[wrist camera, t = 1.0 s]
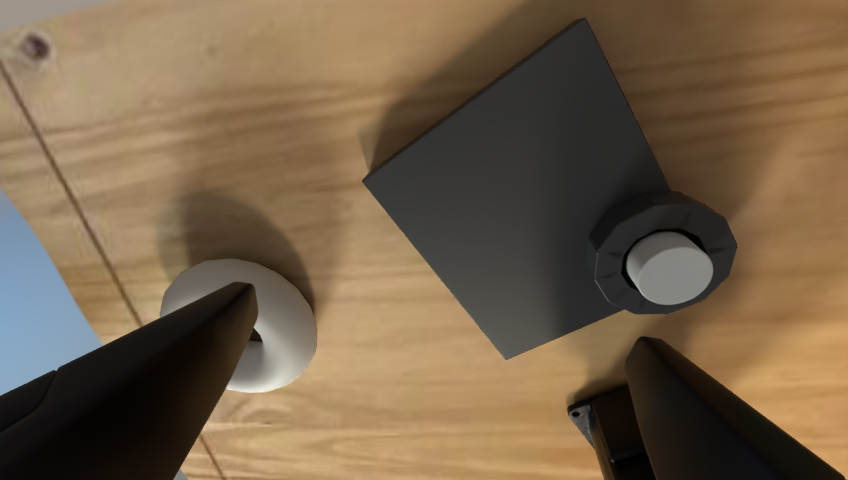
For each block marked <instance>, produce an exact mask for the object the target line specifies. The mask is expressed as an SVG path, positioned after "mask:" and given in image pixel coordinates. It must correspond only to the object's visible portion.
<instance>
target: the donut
mask: <svg viewBox="0 0 848 480" xmlns="http://www.w3.org/2000/svg"><path fill="white" fill-rule="evenodd" d="M237 281H238V282H246V283H251V284H253V285H254V287H255V290H256V297H257V303H258V318H257V321H256V323H255V326H254V328H255V330H256V331H257V332H258V333H259V334H260V336H261V338H262V341H259V342H256V341H251V340H248V342H247V344H246V346H245V349H244V351H243V353H242V355H241V358H240V360H239V362H238V365H237V367H236V369H235V371H234V373H233V375H232V378H231V380H230V381H229V383H228V385H227V387H226V389H230V390H235V391H239V392H244V393H245V392H268V391H271V390H275V389H278V388H281V387H284V386H286V385H288V384H290V383H291V382H292V381H294V380H295V379H296V378H297V377H299V376H300V375H301V374H303V373H304V371H305V370H306V369H307V368H308V366H309V364H310V362H311V360H312V358H313V356H314V354H315V351H316V348H317V324H316V321H315V319H314V316H313V313H312V310H311V307H310V305H309V304H308V303H307V301H306V300H305V298H304V297H303V296H302V294H301V293H300V292H299V290H298V289H297V288H296V287H295V286H293V285H292V284H291V283H290V282H289V281H287V280H286V279H285V278H284V277H282V276H281V275H280V274H279V273H277V272H275V271H272V270H270V269H268V268H266V267H264V266H262V265H260V264H258V263H255V262H250V261H245V260H240V259H235V258H229V259H217V260H206V261H204V262H201V263H199V264H197V265H195V266H193V267H191V268H189V269H187V270H185V271H183V272H181V273H180V274H179V275H178V276H177V278H176V279H175V280H174V281H173V282H172V284H171V285H170V286H169V287H168V289H167V290H166V291H165V293H164V297H163V301H162V306H161V311H160V318H161V317H163V316H165V315H167V314H169V313H171V312H173V311H175V310H177V309H179V308H181V307H183V306H185V305H187V304H190V303H192V302H194V301H196V300H198V299H200V298H202V297H204V296H206V295H208V294H210V293H212V292H214V291H216V290H218V289H220V288H222V287H224V286H226V285H228V284H230V283H233V282H237Z"/></svg>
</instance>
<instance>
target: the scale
mask: <svg viewBox="0 0 848 480" xmlns="http://www.w3.org/2000/svg"><path fill="white" fill-rule="evenodd" d="M362 182H363V183H364V185H365V186H366V187H367V188H368V190H369V191H370V192H371V193H372V195H373V196H374V197H375V198H376V199H377V201H378V202H379V203H380V204H381V206H382V207H383V208H384V209H385V211H386V212H387V213H388V214H389V216H390V217H391V218H392V219H393V221H394V222H395V223H396V224H397V226H398V227H399V228H400V229H401V231H402V232H403V233H404V234H405V236H406V237H407V238H408V239H409V241H410V242H411V243H412V244H413V246H414V247H415V248H416V249H417V250H418V252H419V253H420V254H421V255H422V257H423V258H424V259H425V260H426V262H427V263H428V264H429V265H430V267H431V268H432V269H433V270H434V272H435V273H436V274H437V275H438V277H439V278H440V279H441V280H442V282H443V283H444V284H445V285H446V287H447V288H448V289H449V290H450V292H451V293H452V294H453V295H454V297H455V298H456V299H457V300H458V301H459V303H460V304H461V305H462V306H463V308H464V309H465V310H466V311H467V313H468V314H469V315H470V316H471V318H472V319H473V320H474V321H475V323H476V324H477V325H478V326H479V328H480V329H481V330H482V331H483V333H484V334H485V335H486V336H487V338H488V339H489V340H490V341H491V343H492V344H493V345H494V346H495V348H496V349H497V350H498V351H499V352H500V354H501V355H502V356H503V357H504V359H505V360H507V359H510V358H512V357H514V356H517V355H519V354H521V353H524V352H526V351H528V350H531V349H533V348H535V347H538V346H540V345H542V344H545V343H547V342H549V341H552V340H554V339H557V338H559V337H561V336H564V335H566V334H568V333H571V332H573V331H575V330H578V329H580V328H582V327H585V326H587V325H589V324H592V323H594V322H596V321H599V320H601V319H603V318H606V317H608V316H610V315H613V314H615V313H617V312H620V311H622V310H624V309H625V310H627V311H629V312H631V313H634V314H669V313H673V312H675V311H678V310H680V309H683V308H685V307H688V306H690V305H693V304H695V303H697V302H700V301H702V300H704V299H705V298H706V297H708V296H709V295H710V294H711V293H712V292H713V291H714V290H715V289H716V288H717V287H718V286H719V285H720V284H721V283H722V282H723V281H724V280H725V279H726V278H727V277H728V275H729V273H730V270H731V266H732V263H733V259H734V256H735V252H736V249H737V243H736V241H735V239H734V237H733V234H732V232H731V230H730V228H729V226H728V223H727V221H726V219H725V218H724V217H723V216H721V215H720V214H718V213H717V212H715V211H714V210H712V209H711V208H709V207H708V206H706V205H705V204H703V203H701V202H698V201H696V200H694V199H692V198H690V197H688V196H686V195H684V194H682V193H680V192H677V191H671V189H670V187H669V185H668V183H667V181H666V179H665V176H664V174H663V172H662V170H661V168H660V166H659V164H658V162H657V160H656V158H655V156H654V154H653V152H652V150H651V148H650V146H649V144H648V142H647V140H646V138H645V136H644V134H643V132H642V130H641V128H640V126H639V124H638V122H637V120H636V118H635V116H634V114H633V112H632V110H631V108H630V106H629V104H628V102H627V100H626V98H625V96H624V94H623V92H622V90H621V88H620V86H619V84H618V82H617V80H616V78H615V76H614V74H613V72H612V70H611V68H610V66H609V64H608V61H607V59H606V57H605V55H604V53H603V51H602V49H601V47H600V45H599V43H598V41H597V39H596V37H595V35H594V33H593V31H592V29H591V27H590V25H589V23H588V21H587V19H586V18H585V17H584V18H581V19H578V20H575V21H574V22H572V23H571V24H570V25H568V26H567V27H566V28H564V29H563V30H562V31H560V32H559V33H558V34H556V35H555V36H554V37H552V38H551V39H549V40H548V41H547V42H545V43H544V44H543V45H541V46H540V47H539V48H537V49H536V50H535V51H533V52H532V53H531V54H529V55H528V56H526V57H525V58H524V59H522V60H521V61H520V62H518V63H517V64H516V65H514V66H513V67H512V68H510V69H509V70H507V71H506V72H505V73H503V74H502V75H501V76H499V77H498V78H497V79H495V80H494V81H493V82H491V83H490V84H489V85H487V86H486V87H484V88H483V89H482V90H480V91H479V92H478V93H476V94H475V95H474V96H472V97H471V98H470V99H468V100H467V101H465V102H464V103H463V104H461V105H460V106H459V107H457V108H456V109H455V110H453V111H452V112H451V113H449V114H448V115H447V116H445V117H444V118H442V119H441V120H440V121H438V122H437V123H436V124H434V125H433V126H432V127H430V128H429V129H428V130H426V131H425V132H424V133H422V134H421V135H419V136H418V137H417V138H415V139H414V140H413V141H411V142H410V143H409V144H407V145H406V146H405V147H403V148H402V149H400V150H399V151H398V152H396V153H395V154H394V155H392V156H391V157H390V158H388V159H387V160H386V161H384V162H383V163H382V164H380V165H379V166H377V167H376V168H375V169H373V170H372V171H371V172H369V173H368V174H367V176H366V177H365V178H364V179H363V180H362ZM658 232H676V233H679V234H682V235H684V236H686V237H687V238H688V239H690V240H691V241H692V242H693V243H694V244H695V245H696V246H698V247H699V248H700V249H701V250H702V251H703V252H704V253H706V254H707V255H708V257H709V258H710V260H711V262H712V265H713V275H712V278H711V281H710V283H709V284H708V286H707V287H706V288H705V289H704V290H703V291H702V292H701V293H700V294H699V295H697V296H696V297H694V298H692V299H690V300H688V301H686V302H683V303H679V304H672V305H664V304H658V303H655V302H652V301H650V300H648V299H647V298H645V297H644V296H643V295H642V294H641V292H640V291H639V289H638V288H637V286H636V285H635V284H634V282H633V281H632V279H631V278H630V276H629V275H628V273H627V270H626V259H627V256H628V254H629V252H630V250H631V249H632V247H633V246H634V245H635V244H636V243H637V242H638V241H640V240H641V239H643V238H645V237H646V236H649V235H651V234H654V233H658Z"/></svg>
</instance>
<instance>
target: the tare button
mask: <svg viewBox="0 0 848 480" xmlns="http://www.w3.org/2000/svg"><path fill="white" fill-rule="evenodd" d="M626 270H627V273H628V275H629V276H630V278H631V279H632V281H633V282H634V284H635V285H636V286H637V288H638V289H639V291H640V292H641V294H642V295H643V296H644V297H645V298H647V299H648V300H650V301H652V302H655V303H658V304H664V305H672V304H679V303H683V302H686V301H688V300H690V299H692V298H694V297H696V296H697V295H699V294H700V293H701V292H702V291H703V290H704V289H705V288H706V287H707V286H708V284H709V283H710V281H711V278H712V275H713V265H712V262H711V260H710V258H709V257H708V255H707V254H706V253H704V252H703V251H702V250H701V249H700V248H699V247H698V246H696V245H695V244H694V243H693V242H692V241H691V240H690V239H688V238H687V237H686V236H684V235H682V234H679V233H676V232H658V233H654V234H651V235H649V236H646V237H645V238H643V239H641V240H640V241H638V242H637V243H636V244H635V245H634V246H633V247H632V249H631V250H630V252H629V254H628V256H627V259H626Z"/></svg>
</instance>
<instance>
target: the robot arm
mask: <svg viewBox="0 0 848 480" xmlns="http://www.w3.org/2000/svg"><path fill="white" fill-rule="evenodd" d="M257 318H258V303H257V297H256V290H255V287H254V285H253V284H251V283H246V282H238V281H237V282H233V283H230V284H228V285H226V286H224V287H222V288H220V289H218V290H216V291H214V292H212V293H210V294H208V295H206V296H204V297H202V298H200V299H198V300H196V301H194V302H192V303H190V304H187V305H185V306H183V307H181V308H179V309H177V310H175V311H173V312H171V313H169V314H167V315H165V316H163V317H161V318H159V319H157V320H155V321H153V322H151V323H149V324H147V325H145V326H143V327H141V328H139V329H137V330H134V331H132V332H130V333H128V334H126V335H124V336H122V337H120V338H118V339H116V340H114V341H112V342H110V343H108V344H106V345H104V346H102V347H100V348H98V349H96V350H94V351H92V352H90V353H88V354H86V355H83V356H81V357H79V358H77V359H75V360H73V361H71V362H69V363H67V364H65V365H63V366H61V367H59V368H58V370H57V371H55V370H53V371H51V372H49V373H47V374H45V375H42V376H41V377H38V378H36V379H34V380H32V381H30V382H28V383H26V384H24V385H22V386H20V387H18V388H16V389H14V390H11V391H9V392H7V393H5V394H3V395H1V396H0V480H173V479H174V477H175V476H176V474H177V472H178V471H179V469H180V467H181V465H182V464H183V462H184V460H185V458H186V457H187V455H188V453H189V451H190V450H191V448H192V446H193V444H194V443H195V441H196V439H197V437H198V436H199V434H200V432H201V430H202V429H203V427H204V425H205V424H206V422H207V420H208V418H209V417H210V415H211V413H212V411H213V410H214V408H215V406H216V404H217V403H218V401H219V399H220V397H221V396H222V394H223V392H224V390H225V389H226V387H227V385H228V383H229V381H230V380H231V378H232V375H233V373H234V371H235V369H236V367H237V365H238V362H239V360H240V358H241V355H242V353H243V351H244V349H245V346H246V344H247V342H248V339H249V337H250V335H251V333H252V330H253V328H254V326H255V323H256V321H257ZM625 371H626V376H627V380H628V384H629V385H626V386H623V387H621V388H618V389H615V390H612V391H609V392H606V393H604V394H601V395H598V396H595V397H592V398H589V399H587V400H584V401H581V402H578V403H575V404H573V405H570V406H569V407H568V408H567V411H568V415H569V417H570V418H571V420H572V421H573V422H574V423H575V425H576V426H577V427H578V429H579V430H580V431H581V432H582V434H583V435H584V436H585V438H586V439H587V440H588V441H589V443H590V444H591V445H592V446H593V448H594V449H595V451H596V455H597V458H598V461H599V464H600V468H601V471H602V474H603V477H604V480H846V479H845V477H844V476H843V475H842V474H841V473H839V472H838V471H837V470H835V469H834V468H833V467H831V466H830V465H829V464H827V463H826V462H825V461H823V460H822V459H821V458H819V457H818V456H817V455H815V454H814V453H813V452H811V451H810V450H809V449H807V448H806V447H805V446H803V445H802V444H801V443H799V442H798V441H797V440H795V439H794V438H793V437H791V436H790V435H789V434H787V433H786V432H785V431H783V430H782V429H781V428H779V427H778V426H777V425H775V424H774V423H773V422H771V421H770V420H769V419H767V418H766V417H765V416H763V415H762V414H761V413H759V412H758V411H757V410H755V409H754V408H753V407H751V406H750V405H749V404H747V403H746V402H745V401H743V400H742V399H740V398H739V397H738V396H736V395H735V394H734V393H732V392H731V391H730V390H728V389H727V388H726V387H724V386H723V385H722V384H720V383H719V382H718V381H716V380H715V379H714V378H712V377H711V376H710V375H708V374H707V373H706V372H704V371H703V370H702V369H700V368H699V367H698V366H696V365H695V364H694V363H692V362H691V361H690V360H688V359H687V358H686V357H684V356H683V355H682V354H680V353H679V352H678V351H676V350H675V349H674V348H672V347H671V346H670V345H668V344H667V343H666V342H664V341H663V340H662V339H659V338H654V337H646V336H642V337H640V338H639V339H638V340H637V341H636V343H635V345H634V347H633V349H632V350H631V352H630V354H629V356H628V358H627V360H626V363H625Z"/></svg>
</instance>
